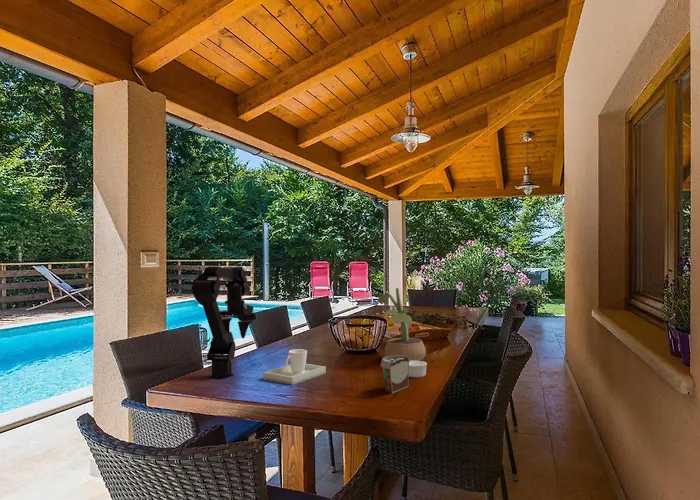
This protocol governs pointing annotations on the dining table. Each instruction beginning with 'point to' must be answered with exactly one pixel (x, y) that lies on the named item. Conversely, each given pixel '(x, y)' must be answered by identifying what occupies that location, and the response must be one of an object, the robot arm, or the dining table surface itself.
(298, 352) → the cup
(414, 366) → the ramekin
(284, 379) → the tray
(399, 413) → the dining table surface
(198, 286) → the robot arm
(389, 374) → the food container
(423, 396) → the dining table surface
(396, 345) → the potted plant
